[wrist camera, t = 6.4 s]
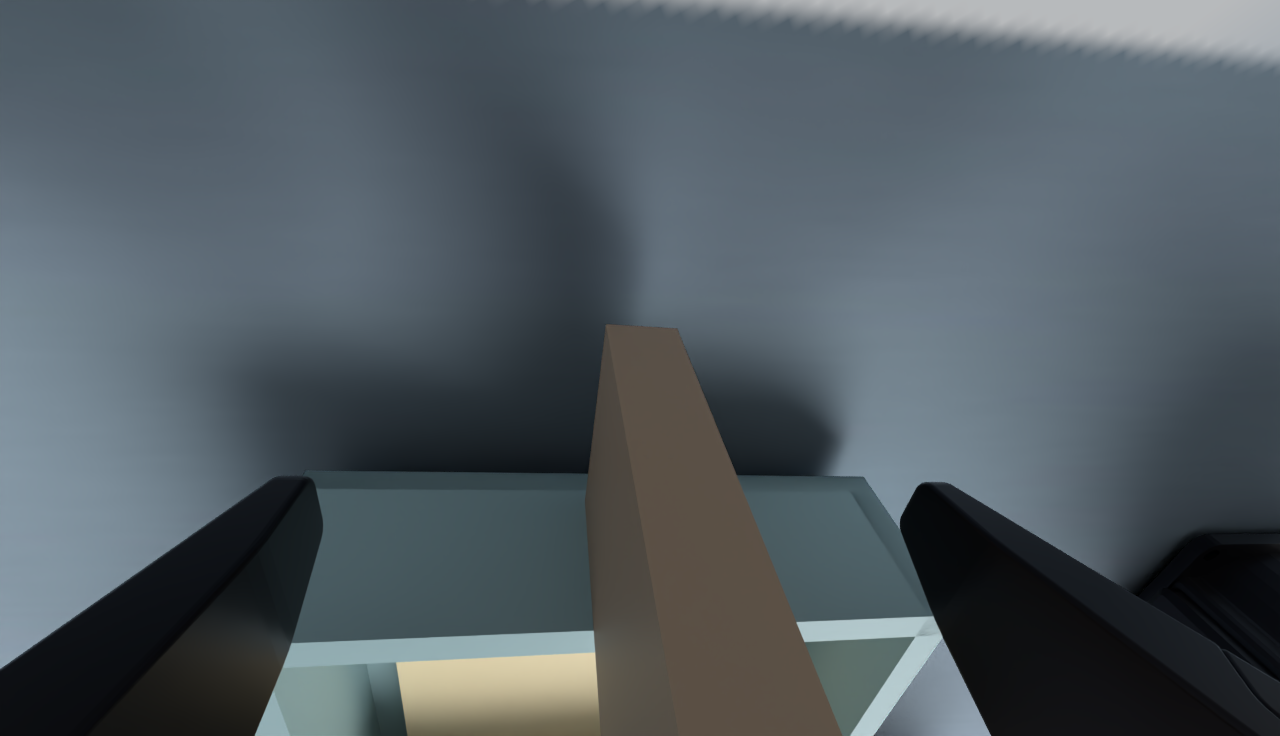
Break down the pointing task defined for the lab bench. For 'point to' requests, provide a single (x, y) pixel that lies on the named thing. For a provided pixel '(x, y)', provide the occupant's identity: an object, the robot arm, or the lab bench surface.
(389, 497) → the tray
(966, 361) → the lab bench surface
